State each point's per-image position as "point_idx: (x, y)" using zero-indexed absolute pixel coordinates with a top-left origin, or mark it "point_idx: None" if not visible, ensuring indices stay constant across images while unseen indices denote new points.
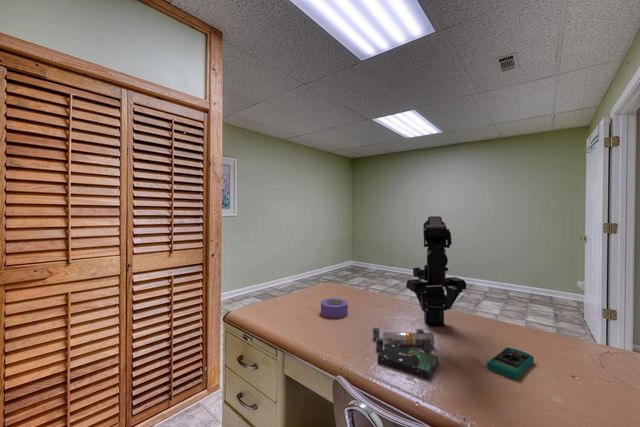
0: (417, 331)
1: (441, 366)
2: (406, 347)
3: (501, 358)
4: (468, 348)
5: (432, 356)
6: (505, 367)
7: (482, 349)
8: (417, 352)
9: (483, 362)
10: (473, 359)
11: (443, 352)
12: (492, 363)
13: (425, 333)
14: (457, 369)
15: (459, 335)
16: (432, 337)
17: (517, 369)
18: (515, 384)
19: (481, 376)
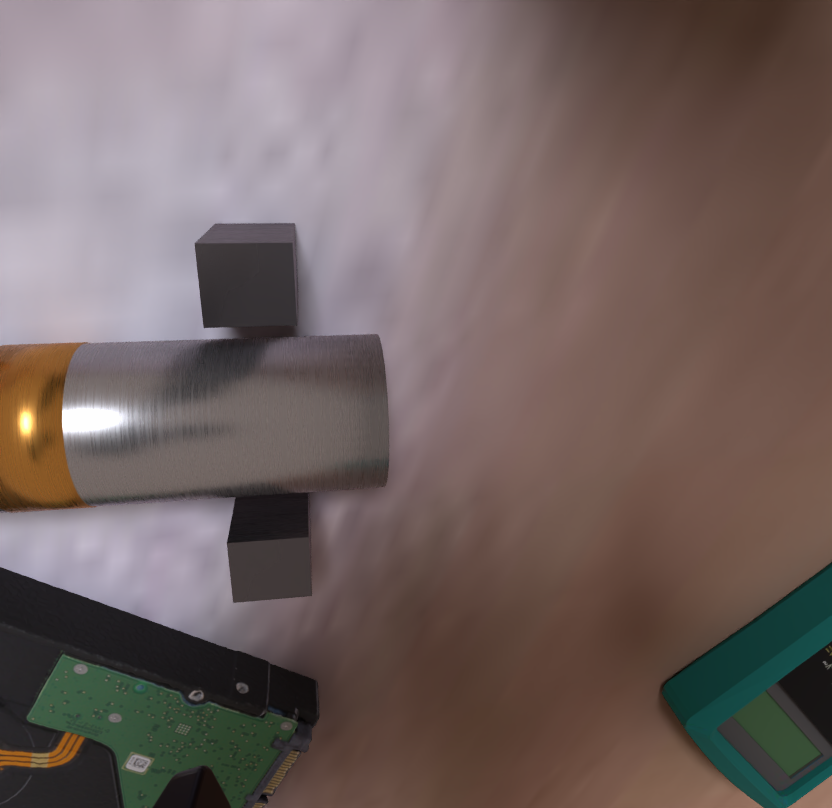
0: (203, 302)
1: (332, 716)
2: (20, 633)
3: (821, 676)
4: (715, 404)
5: (268, 740)
6: (750, 786)
7: (829, 409)
8: (135, 700)
9: (686, 615)
10: (638, 585)
11: (436, 508)
12: (704, 745)
13: (290, 449)
14: (439, 730)
15: (820, 70)
16: (367, 484)
17: (808, 790)
18: (706, 803)
19: (560, 772)
